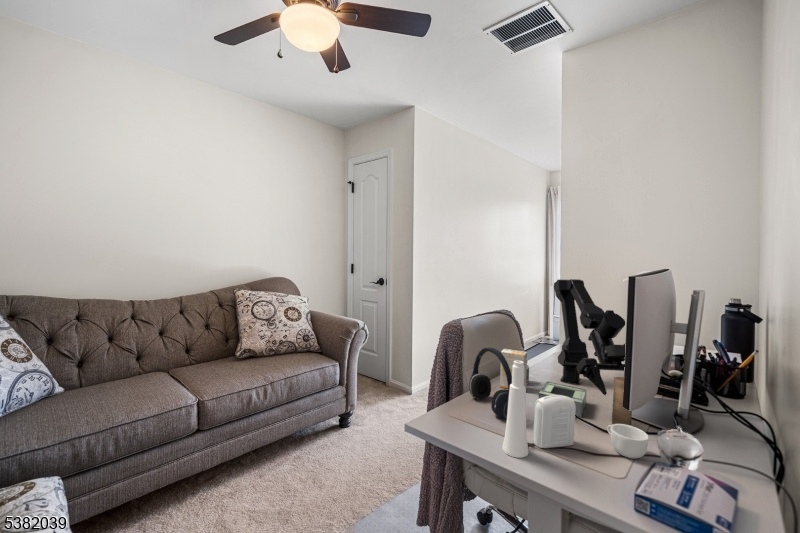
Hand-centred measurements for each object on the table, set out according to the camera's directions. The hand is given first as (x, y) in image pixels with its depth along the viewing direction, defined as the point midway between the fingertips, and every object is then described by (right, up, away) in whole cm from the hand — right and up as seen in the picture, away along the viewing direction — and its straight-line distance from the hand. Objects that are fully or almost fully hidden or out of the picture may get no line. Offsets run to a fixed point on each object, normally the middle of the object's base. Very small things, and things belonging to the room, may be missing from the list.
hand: (622, 395), depth 100 cm
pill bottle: (-18, -7, +31) cm, 37 cm away
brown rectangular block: (0, -8, 0) cm, 8 cm away
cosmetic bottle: (-35, -9, -14) cm, 39 cm away
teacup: (-8, -9, -13) cm, 18 cm away
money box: (-11, -8, +12) cm, 18 cm away
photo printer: (-24, -9, -10) cm, 28 cm away
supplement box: (-23, -7, +26) cm, 35 cm away
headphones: (-35, -8, +10) cm, 37 cm away
